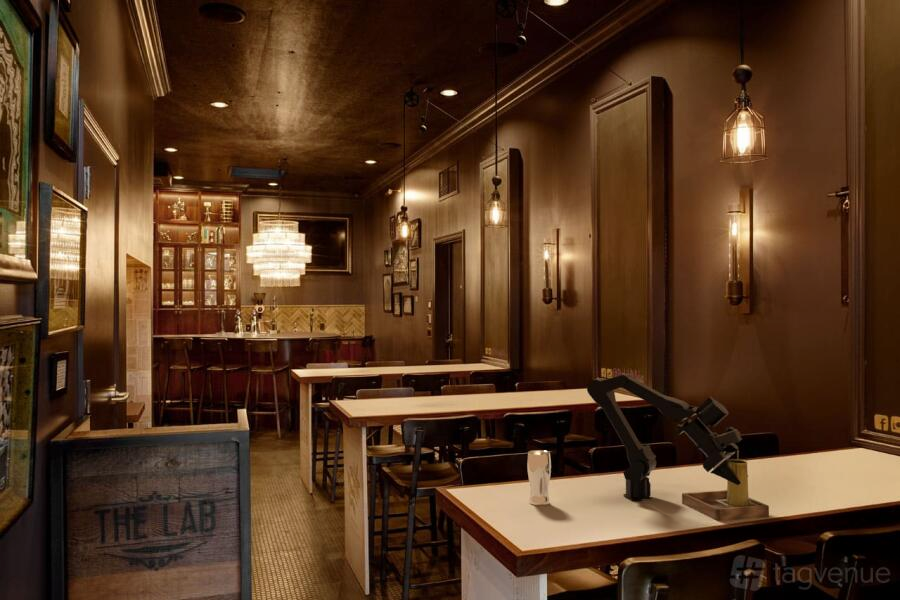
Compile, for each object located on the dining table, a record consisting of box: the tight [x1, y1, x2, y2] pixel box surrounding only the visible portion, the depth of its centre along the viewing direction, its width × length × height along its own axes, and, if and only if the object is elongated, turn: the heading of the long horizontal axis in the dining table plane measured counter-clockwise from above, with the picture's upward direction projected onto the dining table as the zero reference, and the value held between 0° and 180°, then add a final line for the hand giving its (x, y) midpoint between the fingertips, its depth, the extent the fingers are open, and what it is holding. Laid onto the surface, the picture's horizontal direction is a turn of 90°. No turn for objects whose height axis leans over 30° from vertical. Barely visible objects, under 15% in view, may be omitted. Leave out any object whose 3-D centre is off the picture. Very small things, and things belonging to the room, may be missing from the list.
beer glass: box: [526, 449, 552, 507], centre depth 201 cm, size 7×7×15 cm
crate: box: [681, 489, 770, 522], centre depth 192 cm, size 16×17×4 cm
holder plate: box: [715, 499, 760, 509], centre depth 189 cm, size 9×9×2 cm
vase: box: [726, 459, 750, 507], centre depth 189 cm, size 6×6×14 cm
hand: (743, 480), depth 189 cm, fingers open, 9 cm apart
